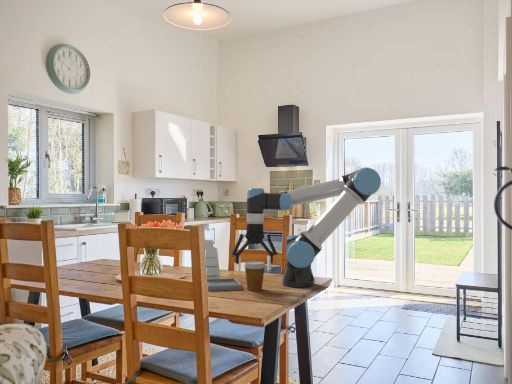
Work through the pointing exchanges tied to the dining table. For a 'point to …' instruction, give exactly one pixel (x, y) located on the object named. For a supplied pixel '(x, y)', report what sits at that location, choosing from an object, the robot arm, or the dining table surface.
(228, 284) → the grey square tray
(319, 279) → the dining table surface
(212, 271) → the grater
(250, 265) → the disposable coffee cup
